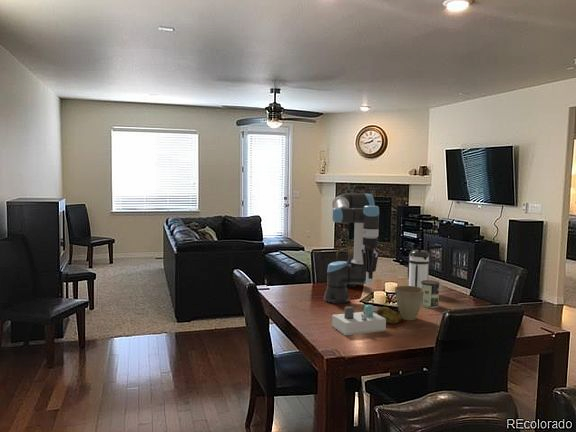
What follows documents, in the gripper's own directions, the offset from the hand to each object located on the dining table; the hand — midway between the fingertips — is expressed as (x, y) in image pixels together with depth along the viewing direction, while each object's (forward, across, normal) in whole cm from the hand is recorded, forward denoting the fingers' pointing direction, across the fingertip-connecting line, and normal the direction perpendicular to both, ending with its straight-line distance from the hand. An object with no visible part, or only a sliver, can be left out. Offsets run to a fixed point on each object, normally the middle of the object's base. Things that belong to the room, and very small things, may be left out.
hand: (369, 284), depth 237 cm
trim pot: (+15, +6, -6) cm, 17 cm away
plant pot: (+22, -6, +28) cm, 36 cm away
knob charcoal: (+21, +1, -11) cm, 23 cm away
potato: (+22, -3, +14) cm, 26 cm away
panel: (+22, +1, -6) cm, 22 cm away
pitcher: (+23, -86, +36) cm, 96 cm away
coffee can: (+22, -24, +55) cm, 64 cm away
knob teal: (+21, +1, 0) cm, 21 cm away
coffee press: (+22, -56, +70) cm, 92 cm away
